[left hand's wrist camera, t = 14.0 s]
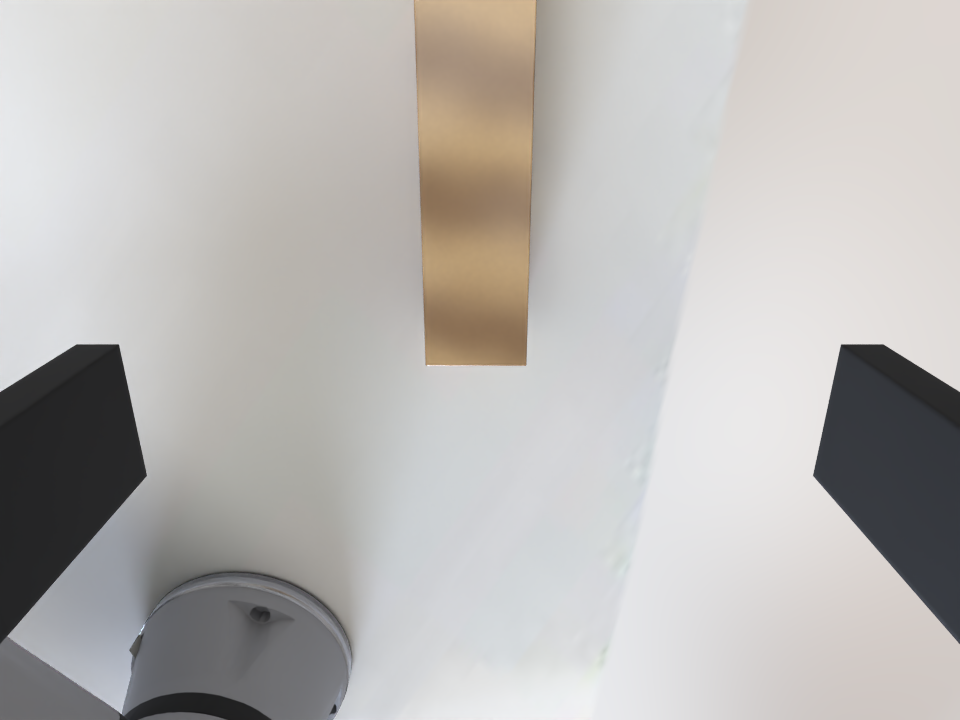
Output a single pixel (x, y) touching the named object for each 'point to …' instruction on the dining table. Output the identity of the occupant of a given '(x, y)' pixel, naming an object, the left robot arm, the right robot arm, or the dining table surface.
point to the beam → (475, 176)
